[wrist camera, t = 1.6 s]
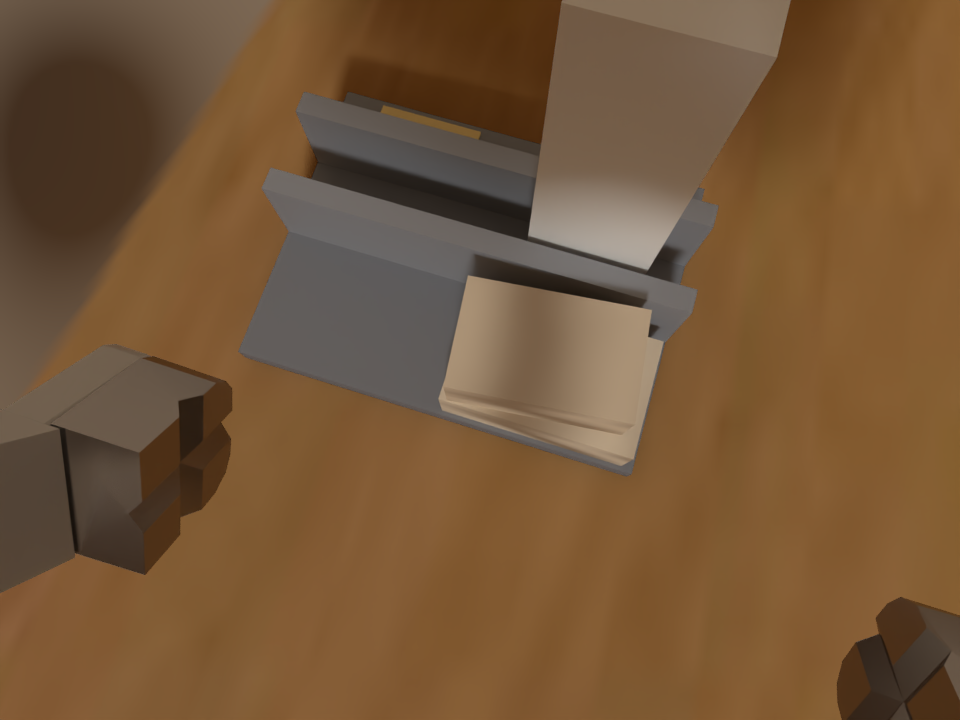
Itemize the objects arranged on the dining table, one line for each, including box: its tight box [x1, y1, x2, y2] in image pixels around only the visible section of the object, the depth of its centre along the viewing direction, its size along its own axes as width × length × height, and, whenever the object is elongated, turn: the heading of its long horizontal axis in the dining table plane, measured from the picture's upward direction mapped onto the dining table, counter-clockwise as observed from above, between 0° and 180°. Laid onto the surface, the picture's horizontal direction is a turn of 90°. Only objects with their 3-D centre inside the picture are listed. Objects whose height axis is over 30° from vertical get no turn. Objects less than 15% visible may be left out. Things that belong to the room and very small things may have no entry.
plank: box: [527, 0, 791, 275], centre depth 23 cm, size 5×2×16 cm, turn 72°
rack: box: [238, 92, 718, 476], centre depth 30 cm, size 18×14×5 cm
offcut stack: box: [438, 275, 664, 466], centre depth 27 cm, size 8×5×5 cm, turn 72°
